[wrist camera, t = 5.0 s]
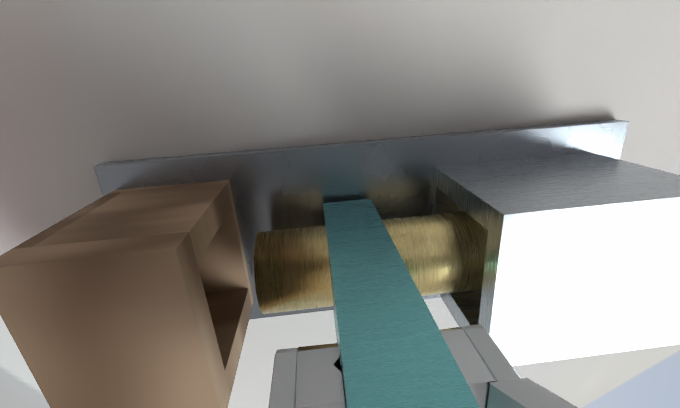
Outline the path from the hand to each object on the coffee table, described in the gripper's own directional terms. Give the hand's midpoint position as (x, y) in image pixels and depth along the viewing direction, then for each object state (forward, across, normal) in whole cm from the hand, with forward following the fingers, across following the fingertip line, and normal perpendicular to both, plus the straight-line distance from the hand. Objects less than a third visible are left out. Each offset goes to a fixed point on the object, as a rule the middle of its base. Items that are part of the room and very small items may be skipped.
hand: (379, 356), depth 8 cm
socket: (+8, +7, 0) cm, 10 cm away
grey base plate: (+8, -1, 0) cm, 8 cm away
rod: (+7, -3, 0) cm, 7 cm away
